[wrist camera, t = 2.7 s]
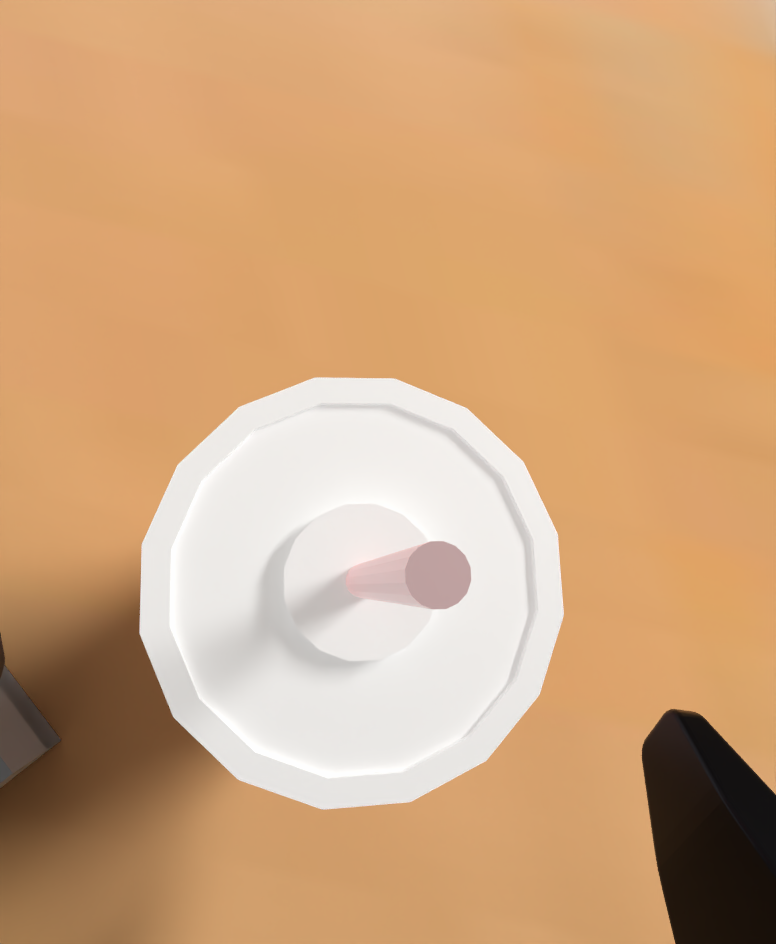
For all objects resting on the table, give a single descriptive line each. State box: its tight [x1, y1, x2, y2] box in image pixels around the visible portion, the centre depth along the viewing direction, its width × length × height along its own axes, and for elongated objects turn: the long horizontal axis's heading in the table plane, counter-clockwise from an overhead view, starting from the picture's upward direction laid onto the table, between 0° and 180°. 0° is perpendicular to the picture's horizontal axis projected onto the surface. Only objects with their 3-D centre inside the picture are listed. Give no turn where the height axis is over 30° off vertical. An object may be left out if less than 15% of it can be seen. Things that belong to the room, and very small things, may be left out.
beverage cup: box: [139, 378, 564, 810], centre depth 11 cm, size 6×6×14 cm
